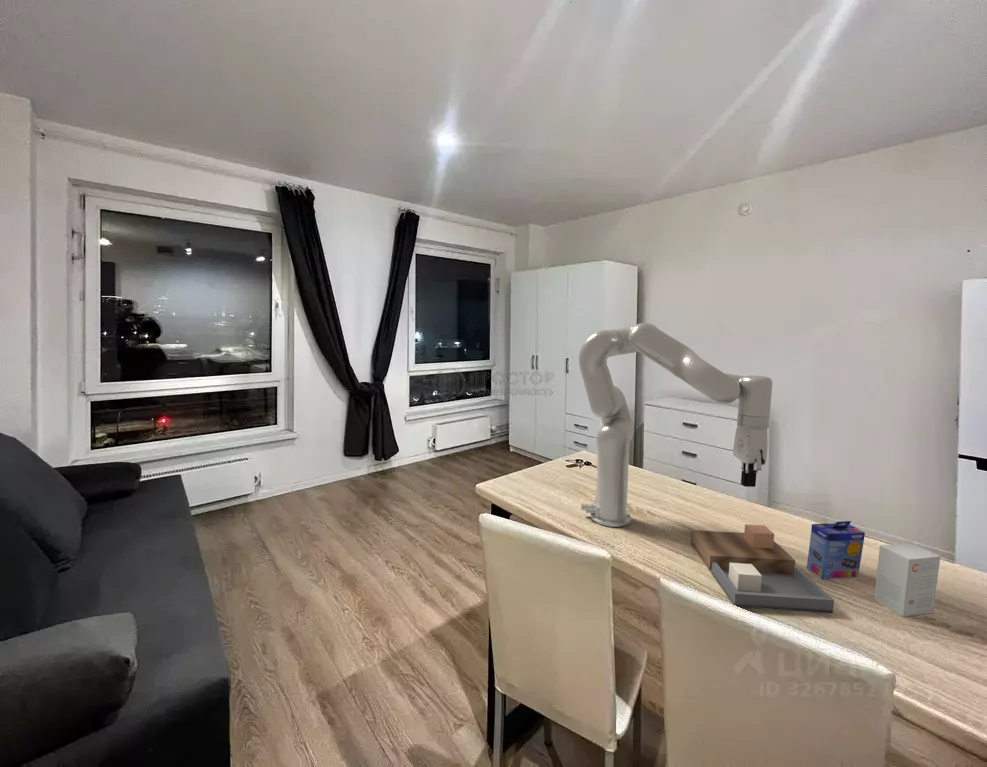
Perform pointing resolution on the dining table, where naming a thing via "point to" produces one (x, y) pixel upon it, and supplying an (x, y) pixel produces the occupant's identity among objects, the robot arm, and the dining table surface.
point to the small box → (907, 578)
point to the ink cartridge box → (835, 550)
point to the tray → (778, 592)
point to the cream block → (745, 577)
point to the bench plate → (739, 552)
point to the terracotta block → (759, 536)
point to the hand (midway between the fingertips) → (748, 485)
